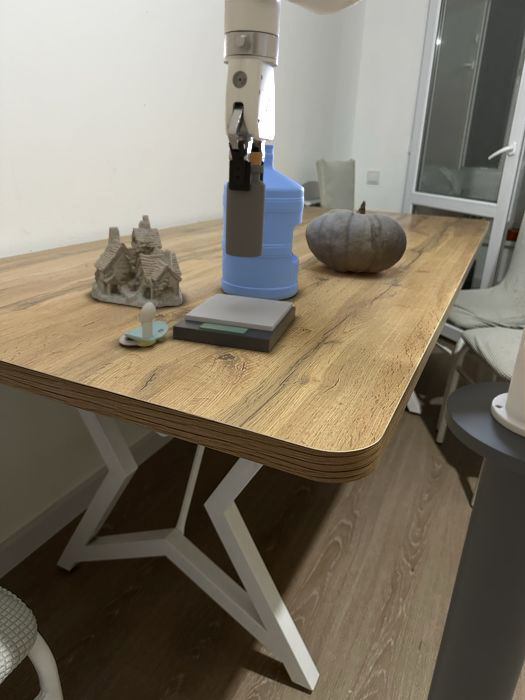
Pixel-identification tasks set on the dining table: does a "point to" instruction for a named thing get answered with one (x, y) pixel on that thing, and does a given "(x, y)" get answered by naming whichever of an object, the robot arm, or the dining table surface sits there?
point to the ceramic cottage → (137, 270)
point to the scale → (236, 322)
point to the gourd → (356, 240)
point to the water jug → (268, 242)
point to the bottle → (246, 215)
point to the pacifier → (146, 328)
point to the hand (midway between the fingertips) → (246, 188)
